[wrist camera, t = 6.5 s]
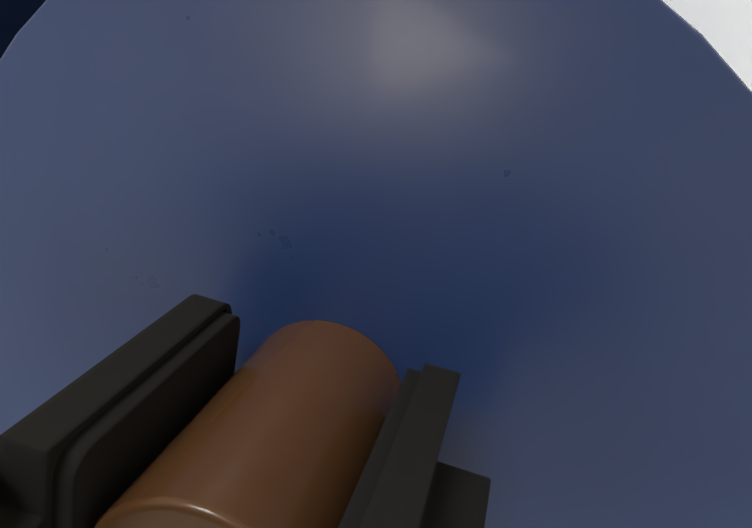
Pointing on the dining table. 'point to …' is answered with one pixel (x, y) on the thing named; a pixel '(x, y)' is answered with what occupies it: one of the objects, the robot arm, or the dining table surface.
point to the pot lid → (394, 245)
